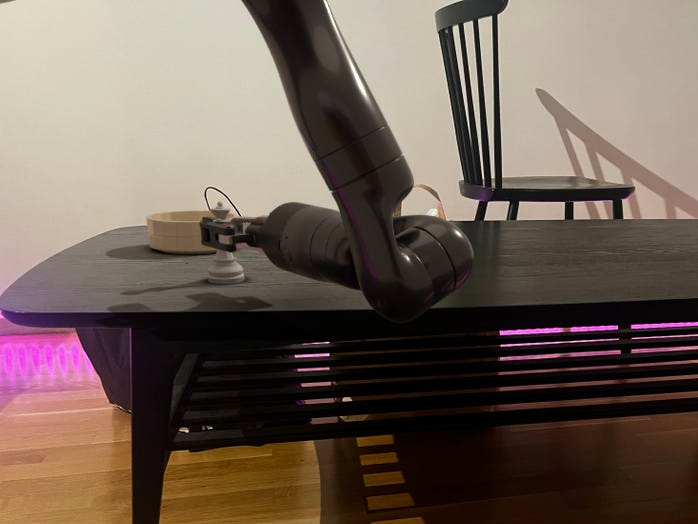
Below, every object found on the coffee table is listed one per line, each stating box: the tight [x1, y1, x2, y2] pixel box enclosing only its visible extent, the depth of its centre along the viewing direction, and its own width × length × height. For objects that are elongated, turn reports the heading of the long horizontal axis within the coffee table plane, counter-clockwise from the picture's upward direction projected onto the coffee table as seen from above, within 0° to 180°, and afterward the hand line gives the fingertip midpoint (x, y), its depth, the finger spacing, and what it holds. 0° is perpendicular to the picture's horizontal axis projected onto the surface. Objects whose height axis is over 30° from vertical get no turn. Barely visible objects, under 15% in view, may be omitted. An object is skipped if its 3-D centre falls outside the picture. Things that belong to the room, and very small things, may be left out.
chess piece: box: [207, 201, 245, 285], centre depth 88 cm, size 4×4×10 cm
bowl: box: [145, 209, 239, 255], centre depth 109 cm, size 13×13×5 cm
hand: (239, 223), depth 84 cm, fingers open, 8 cm apart
